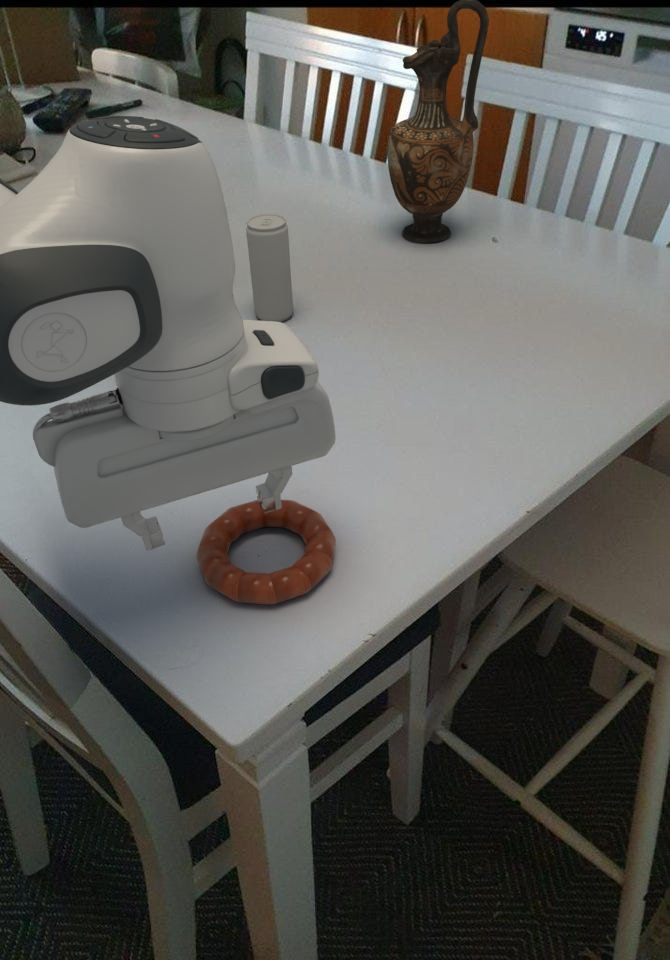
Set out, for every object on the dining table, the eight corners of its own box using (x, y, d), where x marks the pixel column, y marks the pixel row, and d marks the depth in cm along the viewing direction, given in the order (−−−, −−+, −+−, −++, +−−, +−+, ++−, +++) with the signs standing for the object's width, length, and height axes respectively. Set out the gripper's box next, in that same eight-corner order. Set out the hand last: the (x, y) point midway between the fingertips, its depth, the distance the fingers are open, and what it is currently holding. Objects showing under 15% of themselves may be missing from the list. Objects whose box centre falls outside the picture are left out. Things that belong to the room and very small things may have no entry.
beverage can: (251, 323, 99) (240, 228, 91) (260, 305, 103) (251, 212, 95) (289, 325, 98) (282, 230, 91) (297, 307, 102) (291, 213, 94)
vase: (396, 216, 124) (400, -11, 104) (477, 222, 121) (496, -10, 102) (378, 247, 115) (378, 6, 96) (465, 255, 112) (483, 8, 93)
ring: (223, 628, 62) (219, 607, 60) (185, 536, 70) (180, 516, 68) (356, 582, 65) (356, 561, 63) (305, 500, 73) (304, 480, 72)
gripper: (30, 441, 49) (86, 595, 58) (339, 359, 55) (347, 510, 63) (18, 389, 54) (72, 539, 62) (305, 318, 59) (317, 465, 68)
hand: (213, 524), depth 63 cm, fingers open, 8 cm apart
